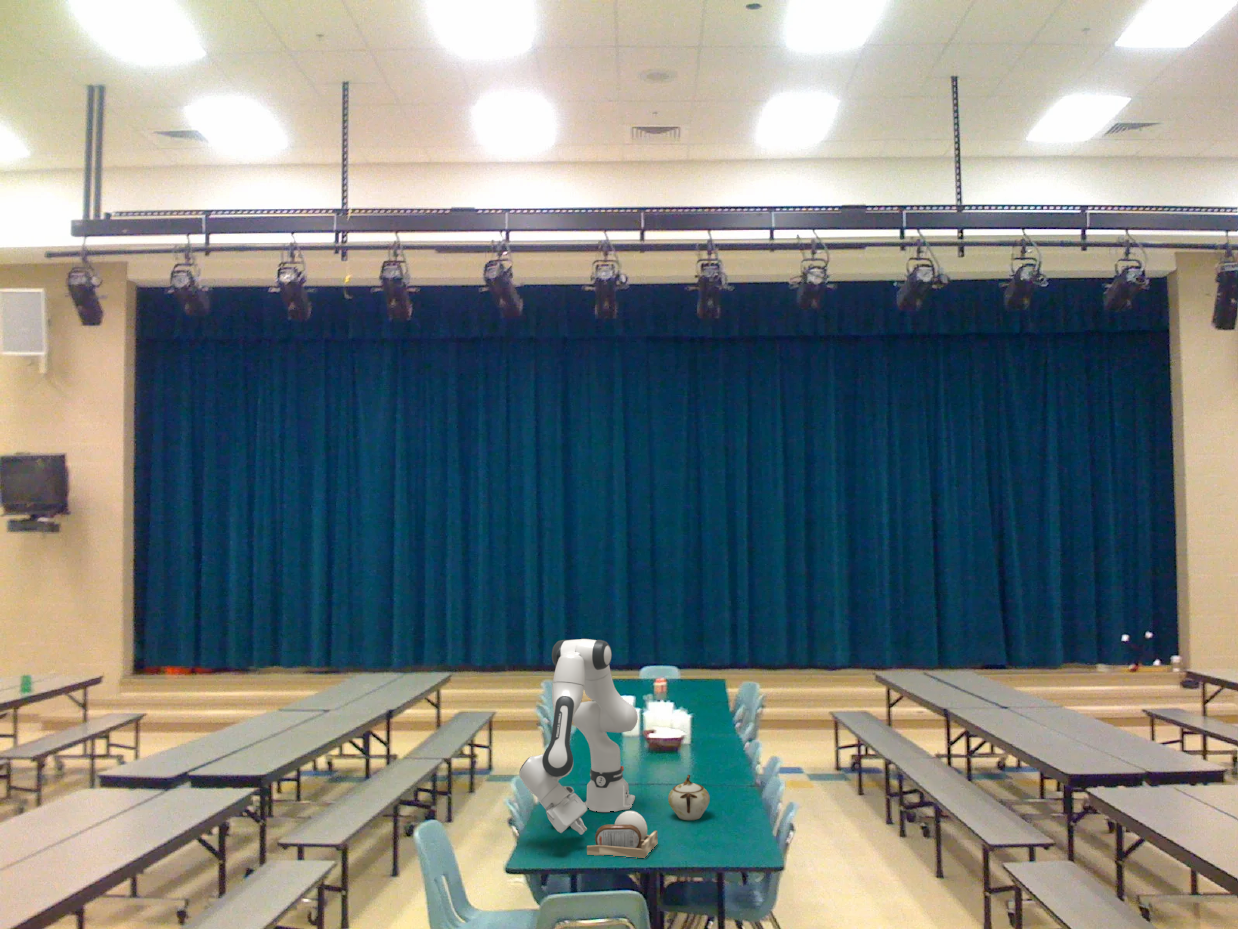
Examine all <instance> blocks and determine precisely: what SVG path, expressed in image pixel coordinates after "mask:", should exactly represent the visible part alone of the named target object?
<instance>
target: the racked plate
mask: <svg viewBox="0 0 1238 929" xmlns="http://www.w3.org/2000/svg"><path fill="white" fill-rule="evenodd" d="M647 824H648V823H647V822H646V820H645V818H644V817H643V816H642V815H641V814H640V813H639V812H637V811H635V810H625V811H624V812H621V813H620V814H619V815H618V816H617V817H616V819H615V822H614V825H633V826H635V827H637V828H638V829H639V831H640V833H641V840H644V839H645V837H646V835H648V825H647Z"/></svg>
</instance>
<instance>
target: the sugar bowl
mask: <svg viewBox="0 0 1238 929" xmlns="http://www.w3.org/2000/svg"><path fill="white" fill-rule="evenodd" d="M690 778H691V775H690V774H687V776H686V779H685V780H684V781H683V782H682V783H680V784H677V785H675V786H673V788H672V789H671V790H670V791H669V793H668V796H667V799H668V800H667V801H668V805H669V806H670V808H671V809H672V811H673V812H674V813H675V814H676V816H677V817H678V818H679V820H683V821H695V820H699V819H700V818H701V817H702V816H703V814H705V811H706V810H707V808H708V806H709V804H710V797H711V796H710V794H709V792H708V791H707V789H705V787H704V786H703V785H701V784H697V783H696V782H695V783H694V782H692V781H691V780H690Z"/></svg>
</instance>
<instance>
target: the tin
mask: <svg viewBox="0 0 1238 929" xmlns="http://www.w3.org/2000/svg"><path fill="white" fill-rule="evenodd" d="M594 840H595V841H594V842H595V845H606V846H618V847H629V848H638V847H639V846H640V843H641V833H640V831H639V829H638V828H637V827H635V826H633V825H615V824H604V825H601V826H600V827H598V828H597V830H596V832H595V835H594Z"/></svg>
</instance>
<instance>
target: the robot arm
mask: <svg viewBox="0 0 1238 929" xmlns="http://www.w3.org/2000/svg"><path fill="white" fill-rule="evenodd" d="M551 660H552V663H553V665H554V666H555V670H554V674H553V679H552V686H551V690H552V691H551V702H552V709H553V722H552V729H551V730H552V731H551V736H550V742H549V744H548V745H547V747H546V749H545V751H544V752H543V753H542V754H538V755H537V754H536V755H532V756H528V758H526V760H525V761H524V762H523V764H522V765H521V767H520V768H519V774H518V775H519V778H520V780H521V781H522V783H523V784H524V786H525V787H526V789H528V791H529V792H531V794H532V795H533V796H535V797H536V798H537V800H538V801H539V804H541V805H542V807H543V808H544V809H545V813H546V815H547V819H548V820H549V822H550V823H551V825H552V826H553V828H554V829H555V830H556V832H558V833H560V834H562V833H563V832H565V831H566V830H567V829H569V827H571V829H572V830H574V831H576V832H577V833H578V834H579V835H583V834H584V833H585V832H587V830H588V827H586V825H585V824H584V821H583V819H582V818H581V817H582V816H583V815H584V814H585V813H586V812H587V811H588V810H589V811H593V812H596V811H597V813H611V812H610V811H614V812H618V811H622V810H623V811H624V810H625V811H627V810H631V809H632V806H633V805H634V802H635V800H636V796H635V795H634V794H630V787H629V786H630V785H629V783H628V782H627V781H626V780H625V779H624V774H623V772H624V770H625V768H624V767H625V766H623V765H621V749H620V746H619V744H617V743H616V742H615V741H613V740H612V739H610V737H609V736H608V734H607V732H608V733H618V734H619V733H620V734H621V733H626V732H627V733H628V732H632V731H633V730H634V729H635V727H636V726H637V724H638V717H639V716H638V712H637V709H636V708H635V706H634V705H632V704H631V703H629V702H628V701H627V700H626V699H624V698H623V697H622V695H620V693H619V692H618V691H617V689H616V687H615V684H614V680H613V676H612V671H611V668H610V664H611V661H612V648H611V646H610V644H609V643H608V642H607V641H606V640H602V639H597V640H596V639H591V638H590V639H589V638H581V639H562V640H558V641H556V643H555V644H554V645H553V647H552V650H551ZM584 693H585V694H584ZM584 695H586V696H587V697H588V698H589V699H590V700H587V701H582V699H583V696H584ZM572 725H574V726H575V728H577V729H578V730H579V731H580V732H581V733H582V734H583V736H584V737H585V740H586V741H587V743H588V747H589V753H590V764H591V765H590V766H591V767H590V771H589V776H590V778H589V779H590V780H589V782H588V783H587V785H586V801H583V800H582V799H581V797H579V795H578V794H577V793H575V790H574V788H573V787H572V786H565V785H564V786H563V785H561V783H560V782H559V781H560V780H562V778H564V777H567V776H568V775H570V773H571V772H572V770H573V768H574V756H573V752H572V750H571V735H572ZM632 804H633V805H632ZM588 808H589V809H588ZM630 808H631V809H630Z"/></svg>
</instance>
